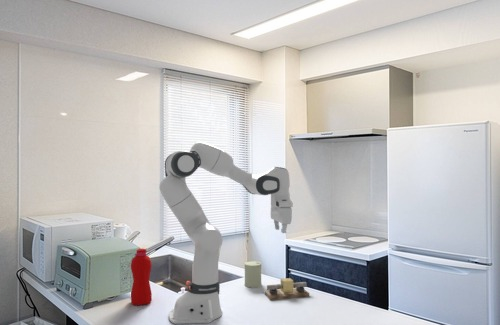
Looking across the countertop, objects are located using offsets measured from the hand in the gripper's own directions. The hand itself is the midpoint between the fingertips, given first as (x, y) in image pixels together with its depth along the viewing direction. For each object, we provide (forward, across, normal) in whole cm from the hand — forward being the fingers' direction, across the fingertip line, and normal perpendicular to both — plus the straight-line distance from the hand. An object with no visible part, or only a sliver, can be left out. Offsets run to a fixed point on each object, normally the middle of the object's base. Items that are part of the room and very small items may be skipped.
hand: (280, 231), depth 180 cm
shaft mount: (+33, -8, +6) cm, 35 cm away
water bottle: (+33, -16, -64) cm, 74 cm away
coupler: (+32, -8, +6) cm, 33 cm away
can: (+33, -28, -6) cm, 44 cm away
